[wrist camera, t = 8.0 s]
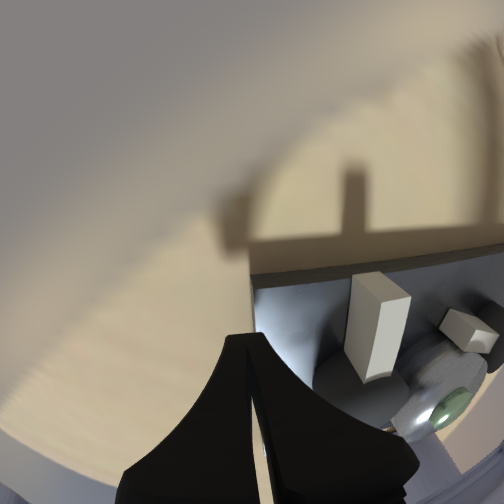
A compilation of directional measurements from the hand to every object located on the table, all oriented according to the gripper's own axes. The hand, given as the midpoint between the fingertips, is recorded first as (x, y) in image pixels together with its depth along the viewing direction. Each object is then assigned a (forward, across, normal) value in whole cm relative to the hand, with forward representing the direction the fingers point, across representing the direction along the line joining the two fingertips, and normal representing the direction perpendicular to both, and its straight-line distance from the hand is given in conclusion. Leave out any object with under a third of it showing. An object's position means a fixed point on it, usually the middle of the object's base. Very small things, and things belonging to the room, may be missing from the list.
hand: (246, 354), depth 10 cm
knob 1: (+2, -5, +2) cm, 6 cm away
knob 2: (+2, -16, +3) cm, 16 cm away
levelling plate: (+3, -12, +5) cm, 13 cm away
